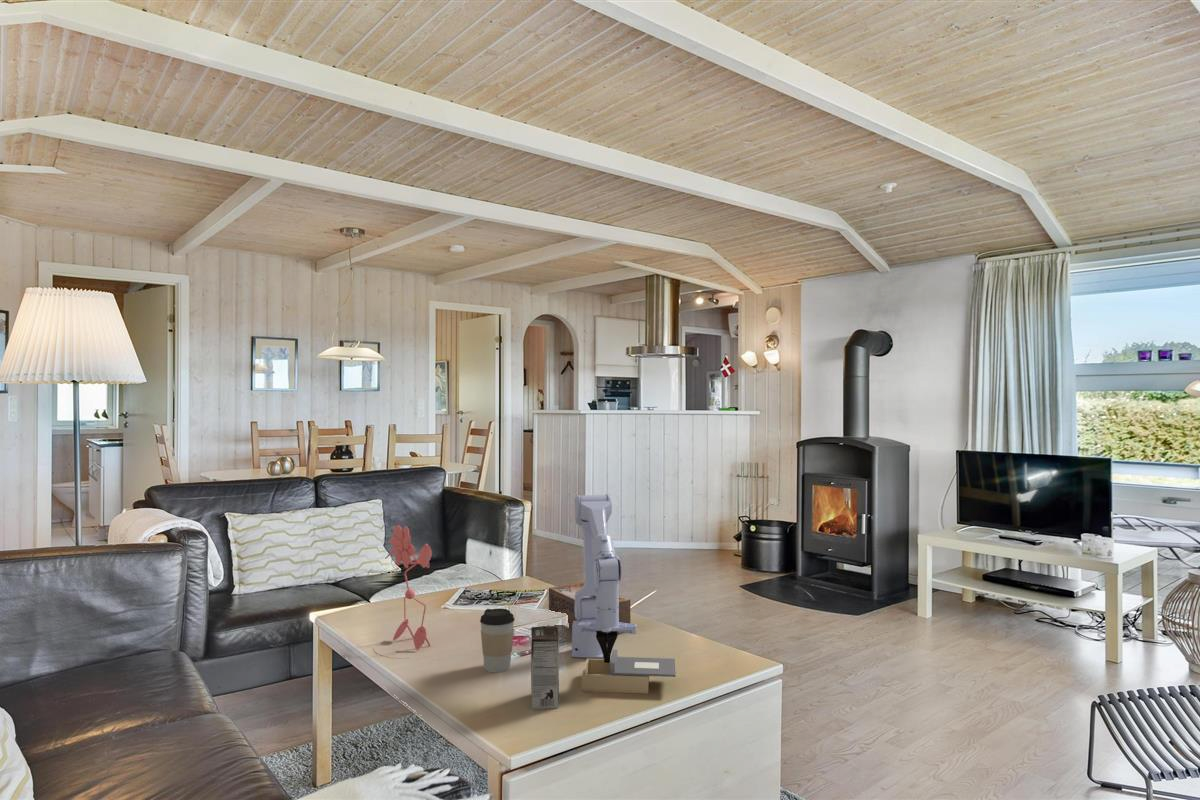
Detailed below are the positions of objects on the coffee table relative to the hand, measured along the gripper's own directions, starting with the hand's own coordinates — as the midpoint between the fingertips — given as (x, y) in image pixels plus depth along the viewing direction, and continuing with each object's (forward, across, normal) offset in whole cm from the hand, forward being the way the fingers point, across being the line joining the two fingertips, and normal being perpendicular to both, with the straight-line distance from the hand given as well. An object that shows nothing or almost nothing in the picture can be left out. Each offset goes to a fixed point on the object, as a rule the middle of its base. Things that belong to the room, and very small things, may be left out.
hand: (607, 661), depth 182 cm
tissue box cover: (+6, -10, +47) cm, 48 cm away
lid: (+1, +9, 0) cm, 9 cm away
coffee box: (+6, -14, -12) cm, 19 cm away
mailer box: (+5, +2, 0) cm, 6 cm away
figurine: (+6, -61, +21) cm, 65 cm away
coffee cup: (+6, -30, +8) cm, 31 cm away
